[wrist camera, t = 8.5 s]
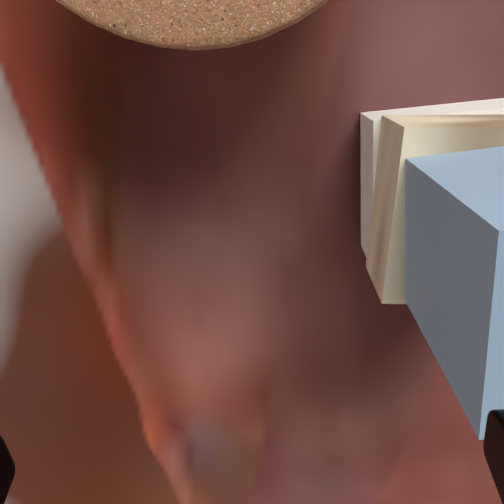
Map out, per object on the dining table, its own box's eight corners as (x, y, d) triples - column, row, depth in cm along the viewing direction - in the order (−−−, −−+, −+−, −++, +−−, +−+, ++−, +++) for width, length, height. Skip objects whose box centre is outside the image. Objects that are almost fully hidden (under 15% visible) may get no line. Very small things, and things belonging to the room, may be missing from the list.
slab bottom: (507, 96, 18) (549, 103, 15) (490, 232, 20) (523, 259, 17) (358, 111, 18) (373, 121, 16) (359, 242, 21) (372, 270, 18)
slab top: (555, 114, 15) (617, 126, 12) (515, 268, 18) (558, 306, 15) (381, 114, 15) (404, 127, 13) (365, 266, 18) (381, 303, 15)
